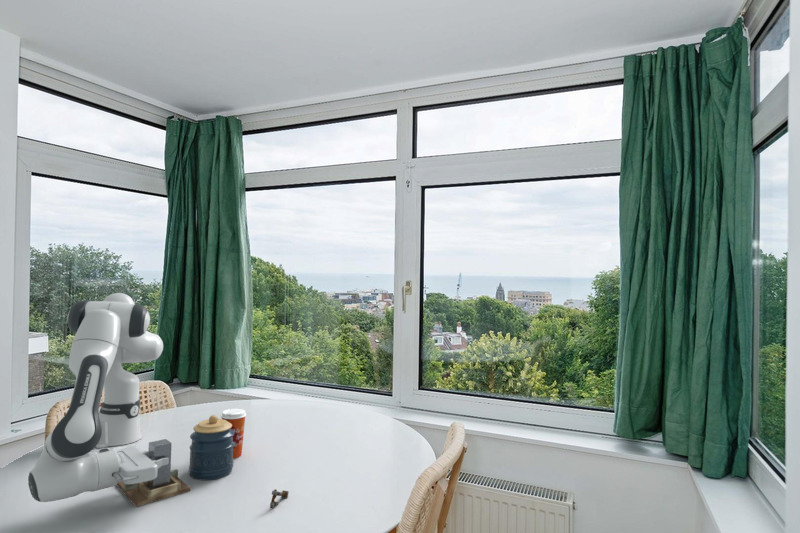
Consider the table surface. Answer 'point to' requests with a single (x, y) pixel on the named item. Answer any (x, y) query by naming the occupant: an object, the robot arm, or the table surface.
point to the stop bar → (163, 473)
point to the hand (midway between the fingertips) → (163, 456)
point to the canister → (211, 449)
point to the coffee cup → (236, 428)
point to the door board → (144, 495)
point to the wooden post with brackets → (276, 493)
